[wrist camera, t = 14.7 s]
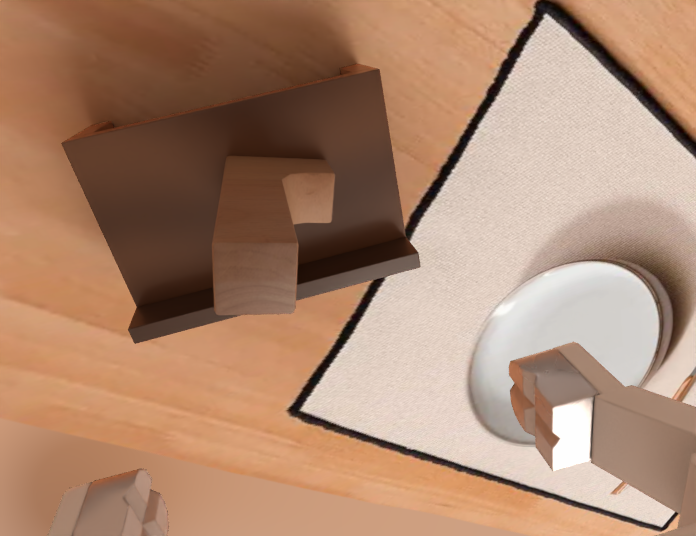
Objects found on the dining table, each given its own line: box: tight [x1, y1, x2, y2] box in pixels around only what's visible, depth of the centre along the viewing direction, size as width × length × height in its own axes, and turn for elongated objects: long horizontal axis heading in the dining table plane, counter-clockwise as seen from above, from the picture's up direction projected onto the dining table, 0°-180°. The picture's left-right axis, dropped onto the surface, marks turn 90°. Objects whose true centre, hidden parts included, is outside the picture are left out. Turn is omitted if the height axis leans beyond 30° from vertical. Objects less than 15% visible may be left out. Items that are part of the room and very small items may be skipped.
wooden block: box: [212, 156, 335, 315], centre depth 26 cm, size 7×3×15 cm, turn 85°
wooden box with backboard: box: [62, 64, 420, 344], centre depth 35 cm, size 13×20×10 cm, turn 101°
